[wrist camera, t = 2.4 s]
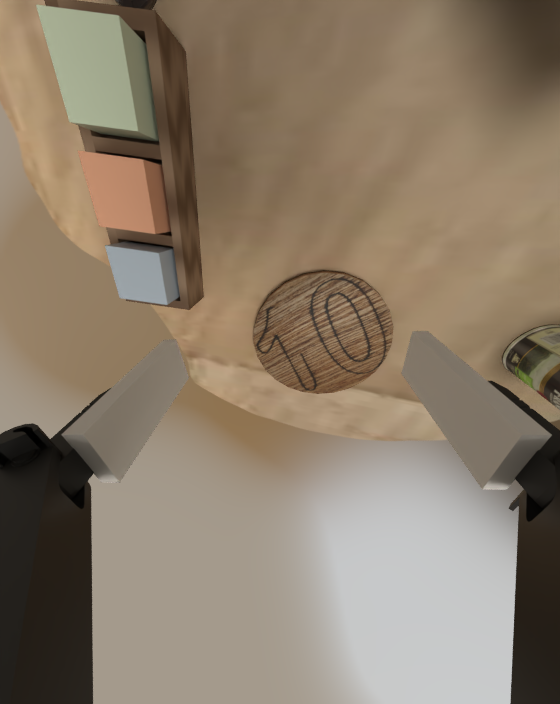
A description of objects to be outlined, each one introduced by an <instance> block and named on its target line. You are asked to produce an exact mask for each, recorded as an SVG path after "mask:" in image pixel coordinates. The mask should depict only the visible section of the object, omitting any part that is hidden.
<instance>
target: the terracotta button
mask: <svg viewBox="0 0 560 704" xmlns="http://www.w3.org/2000/svg"><path fill="white" fill-rule="evenodd" d="M78 153H79V157H80V160H81V164H82V167H83V171H84V174H85V178H86V181H87V185H88V188H89V192H90V195H91V199H92V202H93V206H94V209H95V213H96V216H97V220H98V223H99V226H102V227H109V228H116V229H123V230H130V231H137V232H144V233H151V234H159V233H165V232H171V226H170V218H169V211H168V203H167V196H166V188H165V181H164V173H163V166H162V165H159V164H156V163H152V162H149V161H146V160H142V159H135V158H128V157H121V156H113V155H106V154H99V153H92V152H84V151H78Z"/></svg>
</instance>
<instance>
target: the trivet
mask: <svg viewBox="0 0 560 704" xmlns="http://www.w3.org/2000/svg"><path fill="white" fill-rule="evenodd" d="M392 336H393V323H392V319H391V315H390V311H389V309H388V307H387V306H386V304H385V302H384V301H383V299H382V298H381V296H380V295H379V293H378V292H377V291H375V290H374V289H373V288H372V287H371V286H369V285H368V284H367V283H366V282H364V281H363V280H361V279H359V278H356V277H354V276H351V275H349V274H347V273H344V272H334V271H325V270H323V271H317V272H311V273H305V274H302V275H300V276H297V277H295V278H293V279H291V280H288V281H286V282H285V283H283V284H282V285H281V286H280V287H278V288H277V289H276V290H275V291H274V292H272V293H271V294H270V296H269V297H268V298H267V300H266V301H265V303H264V304H263V306H262V307H261V309H260V311H259V314H258V317H257V320H256V323H255V326H254V346H255V349H256V353H257V356H258V358H259V360H260V362H261V363H262V365H263V367H264V368H265V370H266V371H267V372H268V373H269V374H270V375H272V376H273V377H274V378H275V379H276V380H277V381H279V382H281V383H282V384H284V385H286V386H287V387H290V388H293V389H296V390H299V391H302V392H308V393H317V394H320V393H334V392H337V391H341V390H345V389H348V388H351V387H353V386H355V385H357V384H359V383H361V382H363V381H364V380H365V379H366V378H368V377H369V376H370V375H371V374H373V373H374V372H375V371H376V370H377V369H378V367H379V366H380V365H381V364H382V362H383V361H384V360H385V358H386V356H387V354H388V351H389V349H390V346H391V344H392Z"/></svg>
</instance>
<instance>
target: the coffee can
mask: <svg viewBox="0 0 560 704" xmlns="http://www.w3.org/2000/svg"><path fill="white" fill-rule="evenodd" d="M503 365H504V367H505V368H506V369H507V370H508V371H510V372H512V373H513V374H514V375H516V376H517V377H518V378H519V379H521V380H522V381H523V382H525V383H526V384H527V385H529V386H530V387H531V388H532V389H534V390H535V391H536V392H538V393H539V394H540V395H541V396H543V397H544V398H545V399H546V400H548V401H549V402H550V403H552V404H553V405H554V406H555V407H557V408H558V409H559V410H560V325H548V326H542V327H539V328H536V329H533V330H531V331H528V332H527V333H525V334H523V335H521V336H520V337H518V338H517V339H516V340H515V341H513V342H512V343H511V344H510V345H509V347H508V348H507V349H506V351H505V353H504V355H503Z"/></svg>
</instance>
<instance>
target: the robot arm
mask: <svg viewBox="0 0 560 704" xmlns="http://www.w3.org/2000/svg"><path fill="white" fill-rule="evenodd" d="M401 374H402V375H403V376H404V378H405V379H406V381H407V382H408V384H409V385H410V386H411V388H412V389H413V391H414V392H415V394H416V395H417V396H418V398H419V399H420V401H421V402H422V404H423V405H424V406H425V408H426V409H427V411H428V412H429V414H430V415H431V416H432V418H433V419H434V421H435V422H436V424H437V425H438V426H439V428H440V429H441V431H442V432H443V434H444V435H445V437H446V438H447V439H448V441H449V442H450V444H451V445H452V447H453V448H454V449H455V451H456V452H457V454H458V455H459V456H460V458H461V459H462V461H463V462H464V464H465V465H466V467H467V468H468V469H469V471H470V472H471V474H472V475H473V477H474V478H475V479H476V481H477V482H478V484H479V485H480V487H481V488H482V489H497V490H498V489H499V490H500V489H501V490H506V489H507V488H508V487H509V486H510V485H511V484H512V482H513V481H514V480H515V479H516V480H517V481H518V482H519V484H520V485H521V486H522V487H523V488H524V490H523V491H522V492H521V493H520V494H519V495H518V497H517V498H516V499H515V500H514V501H513V502H512V503H511V505H510V507H509V509H511V510H512V511H513V510H514V509H515V508H516V507H517V506H519V521H518V545H517V567H516V591H515V614H514V638H513V660H512V684H511V704H560V430H558V429H557V428H556V427H555V426H553V425H552V424H551V423H550V422H548V421H547V420H546V419H545V418H543V417H542V416H541V415H540V414H538V413H537V412H536V411H535V410H533V409H530V407H529V406H528V405H527V404H526V403H524V402H523V401H522V400H519V398H518V397H517V396H516V395H514V394H513V393H512V392H511V391H509V390H508V389H507V388H505V387H503V386H501V385H499V384H497V383H495V382H493V381H487V380H485V379H484V378H483V377H482V376H481V375H479V374H478V373H477V372H476V371H475V370H474V369H472V368H471V367H470V366H469V365H468V364H466V363H465V362H464V361H463V360H462V359H460V358H459V357H458V356H457V355H456V354H454V353H453V352H452V351H451V350H450V349H448V348H447V347H446V346H445V345H444V344H442V343H441V342H440V341H439V340H438V339H436V338H435V337H434V336H433V335H432V334H430V333H429V332H428V331H415V332H412V335H411V339H410V343H409V347H408V351H407V354H406V358H405V362H404V366H403V370H402V373H401ZM188 378H189V377H188V373H187V371H186V368H185V365H184V362H183V359H182V356H181V353H180V350H179V347H178V344H177V341H176V339H175V340H163V341H162V342H161V343H160V344H158V345H157V346H156V347H155V348H154V349H153V350H152V351H151V352H150V353H149V354H148V355H147V356H146V357H144V358H143V359H142V360H141V361H140V362H139V363H138V364H137V365H136V366H135V367H134V368H133V369H131V371H129V372H128V373H127V374H126V375H125V376H124V377H123V378H122V379H121V380H120V381H119V382H117V383H116V384H115V385H114V386H113V387H112V388H110V389H108V390H107V391H105V392H104V393H102V394H100V395H99V396H98V397H97V398H96V399H94V400H93V401H92V402H91V403H90V405H89V406H87V407H85V408H84V409H83V410H82V412H81V413H79V414H78V415H77V416H76V417H74V418H73V419H72V420H71V421H70V422H69V423H68V424H67V425H66V426H65V427H63V428H62V429H61V430H60V431H59V432H58V433H57V434H56V435H55V436H53V438H51V439H49V438H48V437H47V436H46V434H45V433H44V432H43V431H42V430H41V429H40V428H39V427H38V425H35V424H24V425H21V426H17V427H14V428H12V429H10V430H8V431H5V432H3V433H2V434H0V704H93V661H92V660H93V659H92V658H93V657H92V556H91V555H92V550H91V549H92V545H91V486H90V484H89V483H88V480H89V478H90V477H91V476H92V475H93V473H94V474H95V475H96V477H97V478H98V479H99V480H100V481H101V482H120V481H121V480H122V478H123V477H124V475H125V474H126V472H127V471H128V469H129V468H130V466H131V465H132V463H133V461H134V460H135V458H136V457H137V456H138V454H139V452H140V451H141V449H142V448H143V446H144V445H145V443H146V442H147V440H148V439H149V437H150V436H151V434H152V433H153V431H154V430H155V428H156V427H157V425H158V424H159V422H160V421H161V419H162V418H163V416H164V414H165V413H166V412H167V410H168V409H169V407H170V406H171V404H172V402H173V401H174V399H175V398H176V396H177V395H178V393H179V392H180V390H181V389H182V387H183V386H184V384H185V383H186V381H187V380H188Z"/></svg>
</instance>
